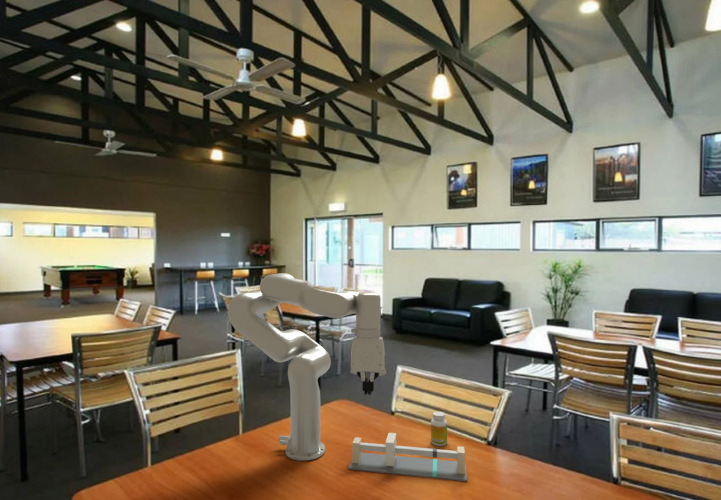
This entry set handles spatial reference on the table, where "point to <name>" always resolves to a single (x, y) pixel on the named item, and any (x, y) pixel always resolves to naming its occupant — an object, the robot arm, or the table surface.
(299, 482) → the table surface
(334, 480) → the table surface
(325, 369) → the robot arm
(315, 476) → the table surface
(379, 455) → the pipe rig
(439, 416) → the supplement bottle
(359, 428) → the table surface
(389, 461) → the white block
